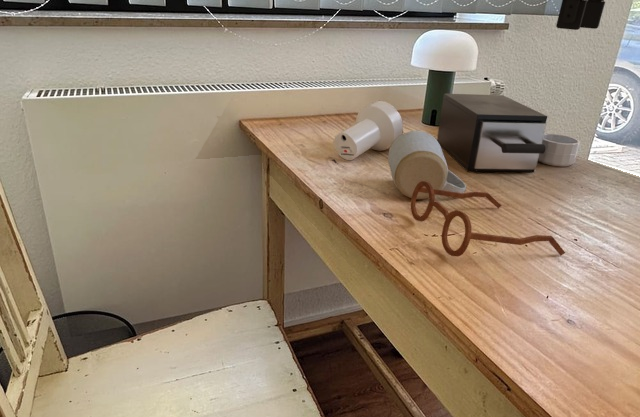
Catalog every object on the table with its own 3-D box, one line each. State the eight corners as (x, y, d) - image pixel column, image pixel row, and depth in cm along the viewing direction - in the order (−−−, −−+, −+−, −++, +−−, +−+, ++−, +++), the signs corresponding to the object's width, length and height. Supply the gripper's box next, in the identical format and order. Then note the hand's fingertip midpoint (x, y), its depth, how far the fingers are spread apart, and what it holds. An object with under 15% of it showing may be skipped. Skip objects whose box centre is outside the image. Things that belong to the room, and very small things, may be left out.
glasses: (406, 213, 61) (411, 175, 59) (499, 207, 64) (506, 171, 62) (457, 267, 50) (465, 223, 48) (566, 257, 53) (578, 215, 51)
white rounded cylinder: (560, 155, 87) (566, 133, 86) (581, 167, 82) (588, 144, 80) (526, 155, 87) (531, 133, 85) (545, 167, 81) (550, 143, 79)
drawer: (550, 180, 73) (562, 131, 70) (486, 179, 72) (496, 130, 69) (496, 142, 90) (504, 102, 87) (444, 141, 89) (450, 101, 86)
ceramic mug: (390, 201, 65) (397, 145, 62) (384, 178, 72) (391, 127, 69) (470, 206, 65) (482, 151, 61) (456, 184, 72) (466, 133, 69)
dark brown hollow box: (534, 172, 78) (547, 116, 75) (467, 171, 77) (477, 114, 73) (493, 143, 92) (503, 95, 89) (436, 142, 91) (443, 93, 87)
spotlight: (408, 145, 84) (401, 99, 81) (369, 172, 77) (358, 123, 74) (371, 142, 90) (363, 99, 86) (331, 168, 83) (320, 122, 79)
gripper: (627, -116, 60) (587, 32, 67) (654, -94, 72) (618, 29, 79) (563, -112, 64) (532, 26, 72) (599, -92, 76) (569, 25, 84)
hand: (577, 28), depth 75 cm, fingers open, 9 cm apart
